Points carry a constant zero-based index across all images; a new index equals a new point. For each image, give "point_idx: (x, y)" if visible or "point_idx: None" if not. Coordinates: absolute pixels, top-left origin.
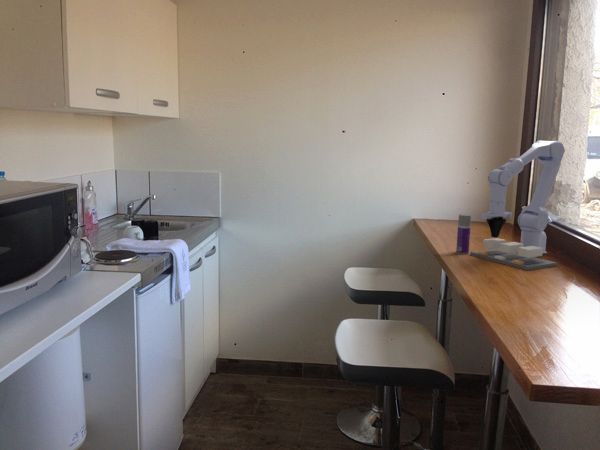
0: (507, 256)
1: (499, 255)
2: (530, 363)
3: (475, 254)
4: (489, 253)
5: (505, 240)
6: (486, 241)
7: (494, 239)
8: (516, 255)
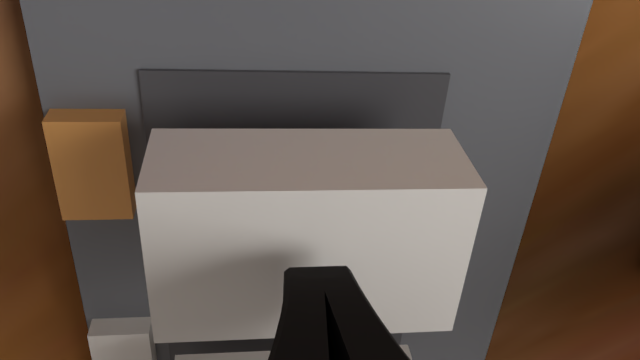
0: None
1: None
2: None
3: (41, 73)
4: None
5: (435, 327)
6: (143, 244)
7: (328, 256)
8: None
